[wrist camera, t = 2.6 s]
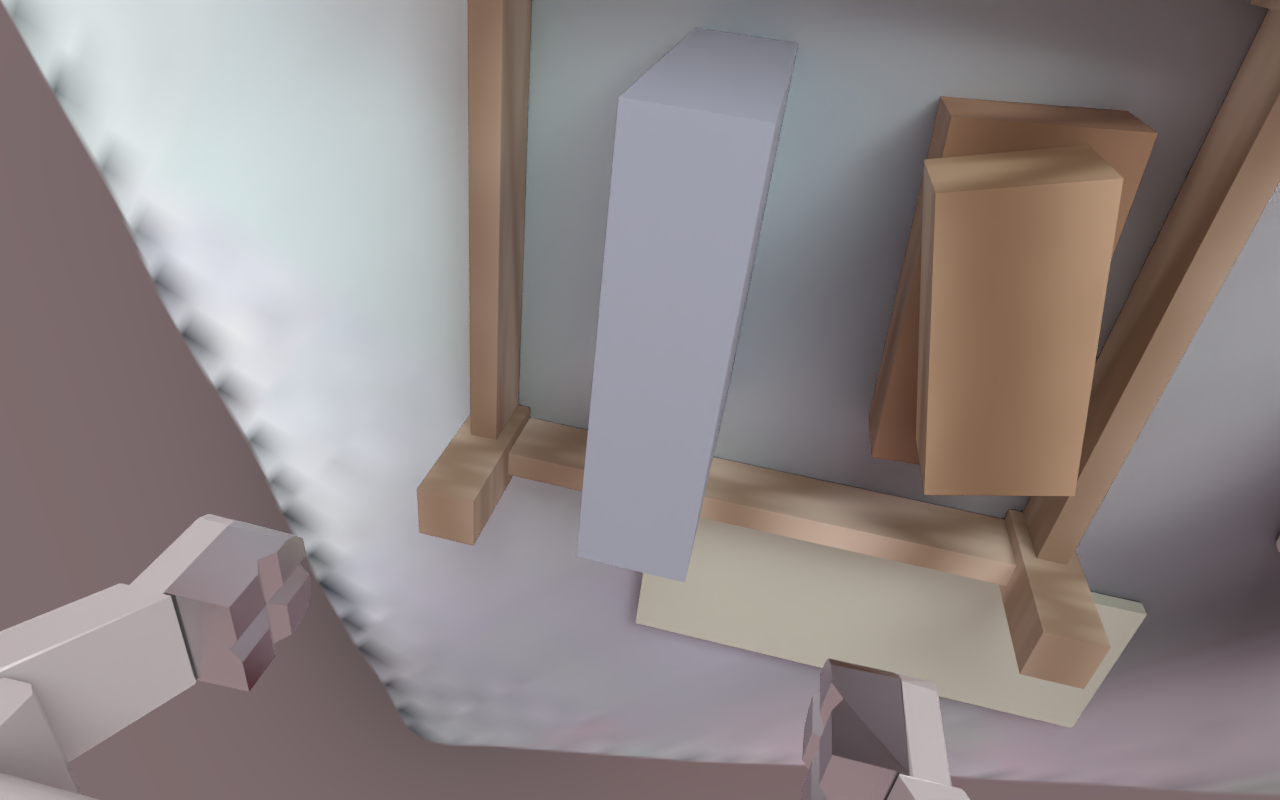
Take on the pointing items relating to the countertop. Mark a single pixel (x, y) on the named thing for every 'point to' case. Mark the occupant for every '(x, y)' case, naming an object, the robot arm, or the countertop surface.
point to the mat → (866, 618)
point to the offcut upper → (1011, 317)
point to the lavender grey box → (676, 289)
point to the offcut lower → (954, 134)
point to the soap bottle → (1278, 544)
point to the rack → (829, 512)
